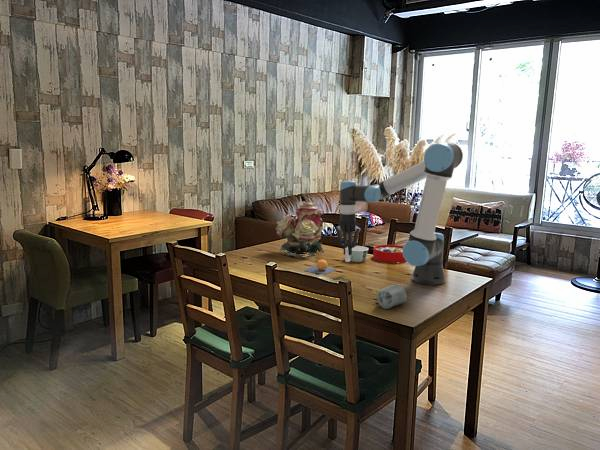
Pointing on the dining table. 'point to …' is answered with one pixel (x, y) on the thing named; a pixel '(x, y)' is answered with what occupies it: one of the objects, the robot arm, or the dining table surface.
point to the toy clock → (389, 253)
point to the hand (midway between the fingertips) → (347, 261)
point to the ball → (321, 265)
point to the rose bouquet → (302, 230)
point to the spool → (391, 296)
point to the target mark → (316, 270)
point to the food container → (359, 254)
